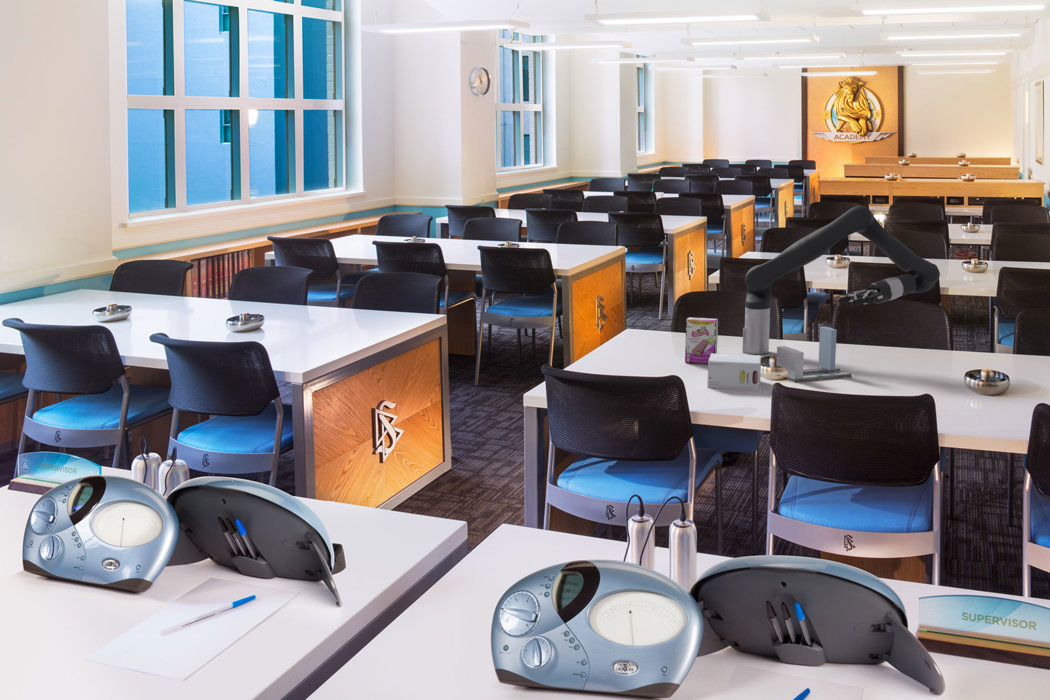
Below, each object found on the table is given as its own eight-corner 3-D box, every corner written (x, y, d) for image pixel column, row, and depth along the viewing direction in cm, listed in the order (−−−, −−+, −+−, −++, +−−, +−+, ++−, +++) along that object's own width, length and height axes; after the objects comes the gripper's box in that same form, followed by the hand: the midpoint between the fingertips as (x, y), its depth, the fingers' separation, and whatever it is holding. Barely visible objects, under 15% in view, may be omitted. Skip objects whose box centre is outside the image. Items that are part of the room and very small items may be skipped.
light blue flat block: (823, 366, 357) (825, 326, 354) (840, 373, 347) (842, 331, 344) (818, 367, 356) (820, 326, 354) (835, 373, 346) (837, 331, 344)
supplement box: (707, 388, 336) (707, 360, 335) (710, 379, 349) (710, 352, 347) (759, 390, 332) (760, 362, 330) (760, 381, 345) (761, 354, 343)
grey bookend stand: (831, 369, 359) (832, 342, 357) (851, 377, 348) (852, 348, 346) (776, 374, 353) (777, 346, 351) (794, 382, 342) (795, 353, 340)
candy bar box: (684, 363, 374) (685, 319, 371) (687, 360, 379) (687, 317, 375) (715, 365, 370) (716, 320, 367) (717, 362, 375) (718, 318, 372)
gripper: (872, 278, 361) (832, 290, 358) (896, 281, 348) (855, 293, 344) (876, 298, 363) (836, 311, 359) (900, 302, 349) (859, 315, 346)
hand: (845, 302), depth 352 cm, fingers open, 8 cm apart
